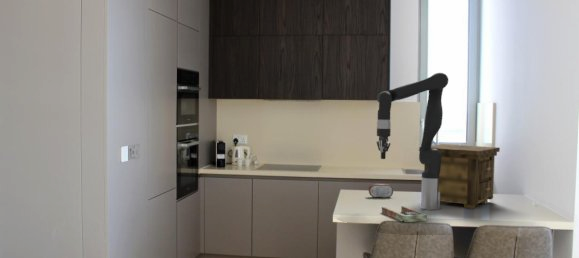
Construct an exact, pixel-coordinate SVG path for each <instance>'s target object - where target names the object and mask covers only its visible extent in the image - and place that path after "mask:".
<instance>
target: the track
mask: <svg viewBox="0 0 579 258" xmlns="http://www.w3.org/2000/svg"><path fill="white" fill-rule="evenodd" d="M400 208H401V213H400V212H398V211H395V210H394V209H391V208H388V207H385V206H382V207H381V214H384V215H387V216H388V217H391V218H394V219H396V220H398V221H400V222H402V221H404V222H403V223H410V222H411V223H414V222H428V214H426V213H423V212H420V211H418V210H416V209H412V208H410V207H407V206H403V205H402V206H401V207H400ZM407 212H415V213H418V214H419V215H405V213H407Z"/></svg>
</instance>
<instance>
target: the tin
mask: <svg viewBox="0 0 579 258" xmlns="http://www.w3.org/2000/svg"><path fill="white" fill-rule="evenodd" d="M368 193H369V196H371V198H375V197H389V198H390V197H392V196H393V194H394V188H393V186H392V185H390V184H388V183H373V184H371V185H370V186H369V187H368Z"/></svg>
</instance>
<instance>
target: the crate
mask: <svg viewBox="0 0 579 258" xmlns="http://www.w3.org/2000/svg"><path fill="white" fill-rule="evenodd" d="M420 148H421V146H420V147H419V149H418V150H419V151H418V152H420ZM431 149H437V150H439V151H440V153H441V169H440V174H439V192H440V202H447V203H448V202H449V203H455V204H463V208H464V209H465V208H466V209H475V208H476V206H477V205H479V204H487V203H488V201H489V200H493V199H494V178H495V177H494V173H495V172H494V171H495V157H497V156H498V153H499V152H500V147H495V146H480V145H479V146H478V145H460V144H447V143H446V144H445V143H443V144H442V143H441V144H436V145H435V144H433V145H431ZM423 165H424V164H423ZM428 169H429V165H424V169H423V170H424V171H427V170H428ZM424 171H423V172H424Z"/></svg>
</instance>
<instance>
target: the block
mask: <svg viewBox="0 0 579 258" xmlns="http://www.w3.org/2000/svg"><path fill="white" fill-rule="evenodd" d="M404 215H419V214H418V213H415V212H407V213H404Z"/></svg>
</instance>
